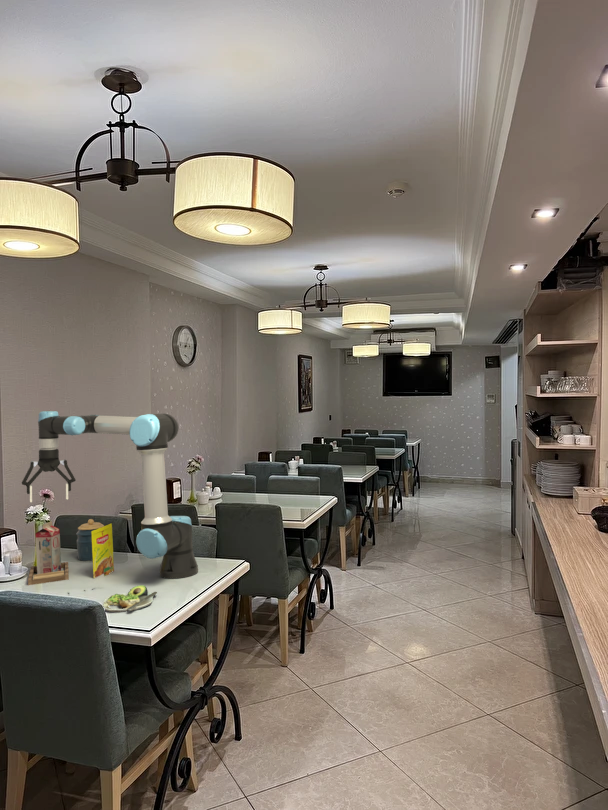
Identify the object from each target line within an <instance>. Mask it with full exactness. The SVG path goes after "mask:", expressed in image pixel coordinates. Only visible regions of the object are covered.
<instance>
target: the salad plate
mask: <svg viewBox="0 0 608 810" xmlns="http://www.w3.org/2000/svg"><path fill="white" fill-rule="evenodd" d="M156 594H158V591H153V592H151V591H149V590H148V587H147V586H146V585H143V584H141V585H137V586H136V585H135V586H134V587H132V588H131V589H129V590H128V592H126V593H115V594H113V595H110V596H107V597H106V598H105V599H104V600H103V603H102V607H103V606H104V608H105V611H106V612H108V611H109V613H124V612H126V611H127V612H134V611H136V610H140V609H143V608H146V607H148V606H149V605H151V604H152V602H153V598H154V597H155V596H156ZM109 605H110V606H111V605H114V607H121V608H111V607H110V608H109V607H108V606H109ZM122 608H123V609H122Z"/></svg>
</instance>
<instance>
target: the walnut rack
mask: <svg viewBox="0 0 608 810" xmlns="http://www.w3.org/2000/svg"><path fill="white" fill-rule="evenodd" d="M61 569H64V575H62V576H55V577H48V578H41V579H34V580H33V578H34V575H35V573H37V565H35V566H30V569H29V573H28V578H27V584H28V585H27V586H33V585H34V586H35V585H40V584H46V583H55V582H61V581H68V580H69V562H68V561H65V562H61ZM69 581H70V580H69Z"/></svg>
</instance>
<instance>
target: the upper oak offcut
mask: <svg viewBox="0 0 608 810" xmlns="http://www.w3.org/2000/svg"><path fill="white" fill-rule="evenodd" d="M62 575H65V570H61V571H57V572H50V573H43V574H34V576H33V580H34V579H41V578H48V577H55V576H62Z"/></svg>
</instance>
